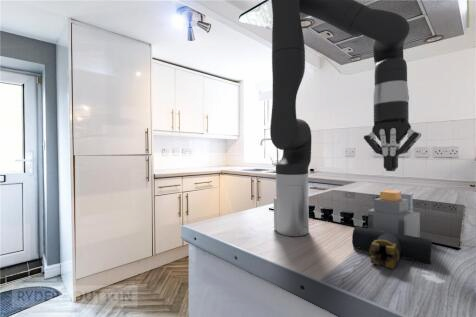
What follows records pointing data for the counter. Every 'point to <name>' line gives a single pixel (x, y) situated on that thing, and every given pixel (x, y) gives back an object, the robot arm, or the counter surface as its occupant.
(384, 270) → the counter surface
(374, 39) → the robot arm
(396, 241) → the pipe connector
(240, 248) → the counter surface
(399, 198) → the plunger
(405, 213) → the housing
